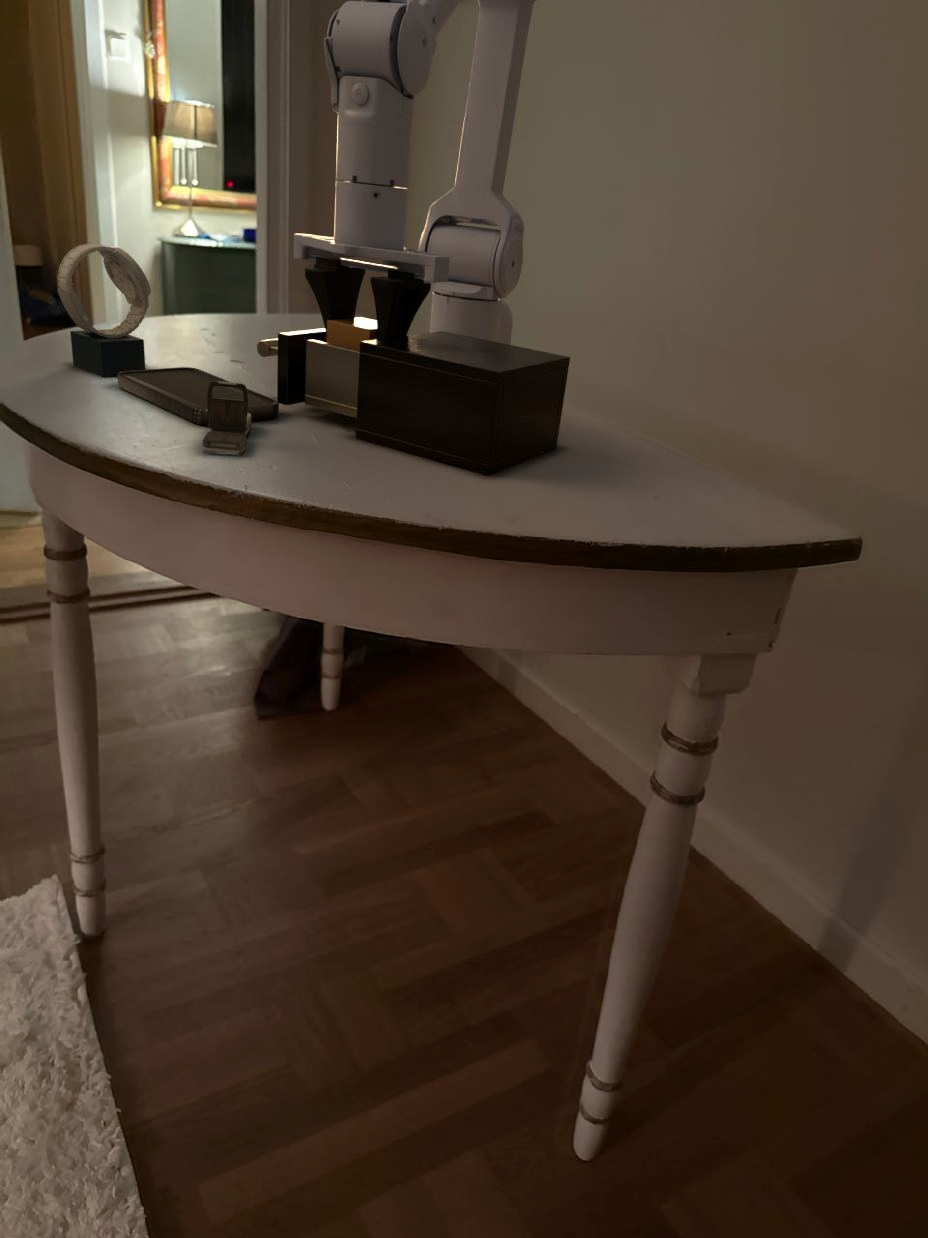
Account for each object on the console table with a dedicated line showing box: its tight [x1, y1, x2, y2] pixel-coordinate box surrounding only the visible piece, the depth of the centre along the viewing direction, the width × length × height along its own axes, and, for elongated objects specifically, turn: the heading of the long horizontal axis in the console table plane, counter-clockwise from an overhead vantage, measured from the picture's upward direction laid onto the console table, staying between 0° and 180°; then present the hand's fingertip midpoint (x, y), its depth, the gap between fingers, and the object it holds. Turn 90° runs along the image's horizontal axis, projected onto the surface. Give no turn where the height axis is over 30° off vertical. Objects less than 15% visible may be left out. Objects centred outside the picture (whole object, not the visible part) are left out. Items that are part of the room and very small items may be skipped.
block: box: [327, 316, 377, 350], centre depth 75 cm, size 4×4×4 cm
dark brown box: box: [355, 331, 571, 476], centre depth 71 cm, size 13×12×8 cm
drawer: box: [256, 327, 360, 419], centre depth 76 cm, size 16×10×6 cm, turn 58°
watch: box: [56, 243, 152, 378], centre depth 82 cm, size 6×8×11 cm
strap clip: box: [202, 381, 252, 454], centre depth 66 cm, size 8×3×4 cm, turn 8°
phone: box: [117, 366, 280, 425], centre depth 76 cm, size 8×1×15 cm
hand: (363, 360), depth 75 cm, fingers closed on block, 4 cm apart
